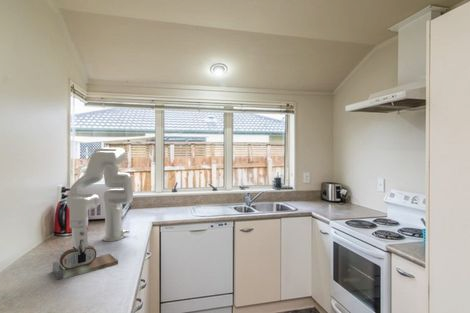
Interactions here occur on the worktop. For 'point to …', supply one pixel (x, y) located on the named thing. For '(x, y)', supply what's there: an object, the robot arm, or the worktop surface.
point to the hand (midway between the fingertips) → (79, 259)
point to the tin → (71, 257)
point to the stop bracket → (58, 270)
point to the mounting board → (91, 266)
